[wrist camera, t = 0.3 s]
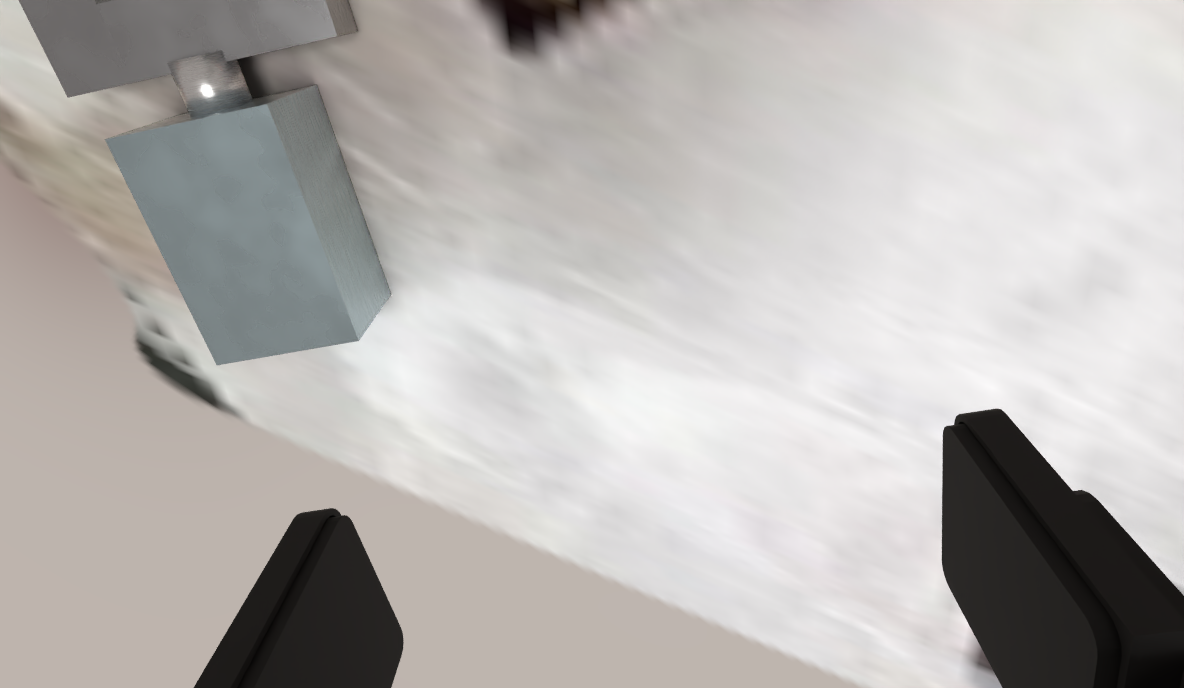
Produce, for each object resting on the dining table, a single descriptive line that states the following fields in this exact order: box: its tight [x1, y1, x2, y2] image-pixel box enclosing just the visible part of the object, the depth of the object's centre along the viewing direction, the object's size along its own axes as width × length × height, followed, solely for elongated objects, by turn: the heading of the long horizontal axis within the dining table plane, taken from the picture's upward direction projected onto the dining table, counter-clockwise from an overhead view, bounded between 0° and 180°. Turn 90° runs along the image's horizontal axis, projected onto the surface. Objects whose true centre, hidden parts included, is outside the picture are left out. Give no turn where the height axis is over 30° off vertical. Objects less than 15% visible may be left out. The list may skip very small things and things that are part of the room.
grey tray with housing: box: [19, 0, 391, 365], centre depth 35 cm, size 28×14×6 cm, turn 11°
